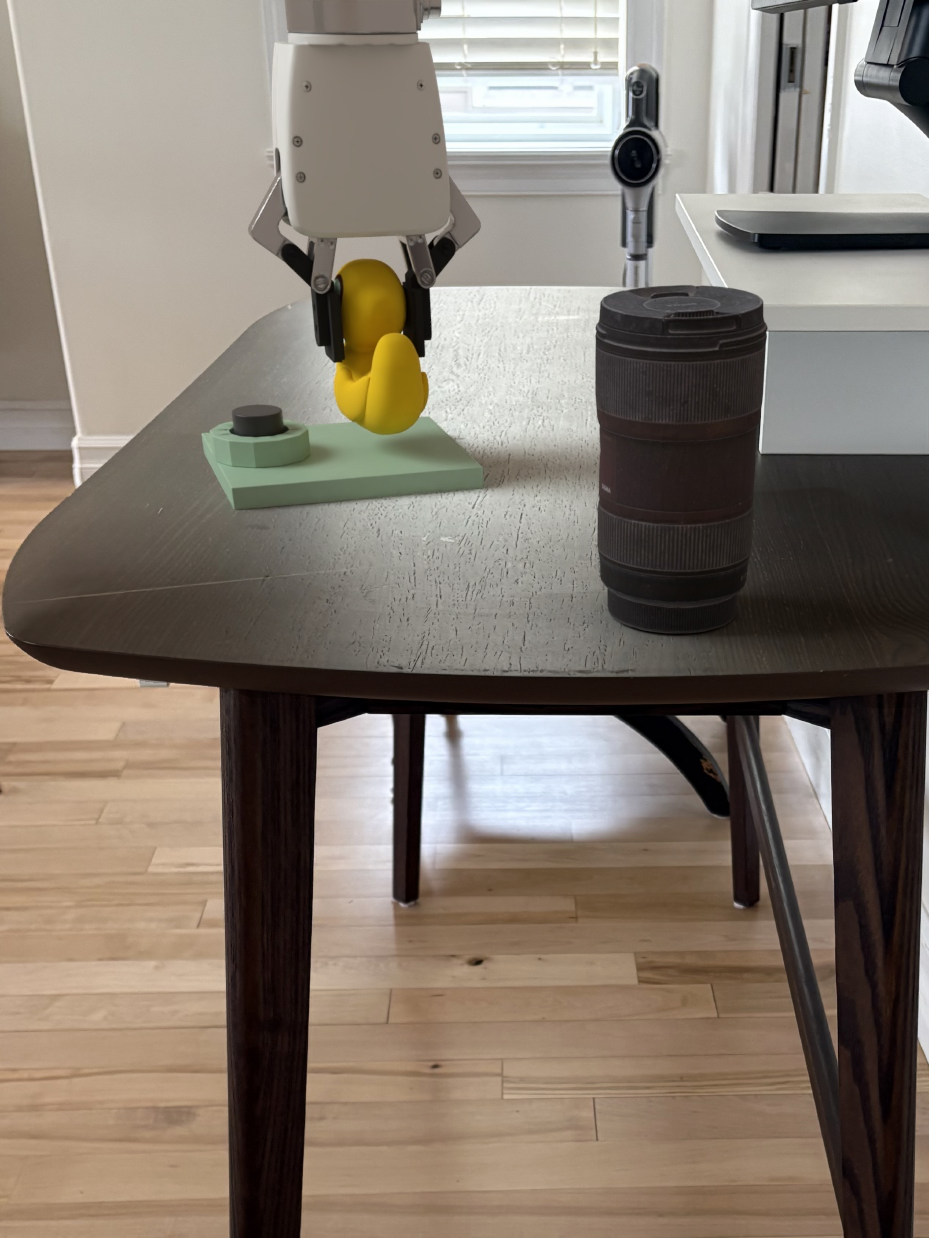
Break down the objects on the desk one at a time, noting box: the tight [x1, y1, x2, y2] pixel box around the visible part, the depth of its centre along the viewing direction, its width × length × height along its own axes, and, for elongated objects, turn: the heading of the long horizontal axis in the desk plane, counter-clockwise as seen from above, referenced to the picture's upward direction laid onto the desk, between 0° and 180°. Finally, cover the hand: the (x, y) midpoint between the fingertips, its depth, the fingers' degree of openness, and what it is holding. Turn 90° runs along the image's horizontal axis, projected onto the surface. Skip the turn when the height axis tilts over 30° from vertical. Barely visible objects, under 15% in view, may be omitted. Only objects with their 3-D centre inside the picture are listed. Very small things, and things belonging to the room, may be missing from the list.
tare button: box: [231, 404, 285, 437], centre depth 97 cm, size 3×3×2 cm
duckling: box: [333, 258, 430, 435], centre depth 97 cm, size 11×5×10 cm, turn 25°
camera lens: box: [594, 284, 769, 634], centre depth 75 cm, size 8×8×15 cm
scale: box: [201, 415, 485, 511], centre depth 100 cm, size 16×14×3 cm
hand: (374, 353), depth 97 cm, fingers closed on duckling, 4 cm apart
